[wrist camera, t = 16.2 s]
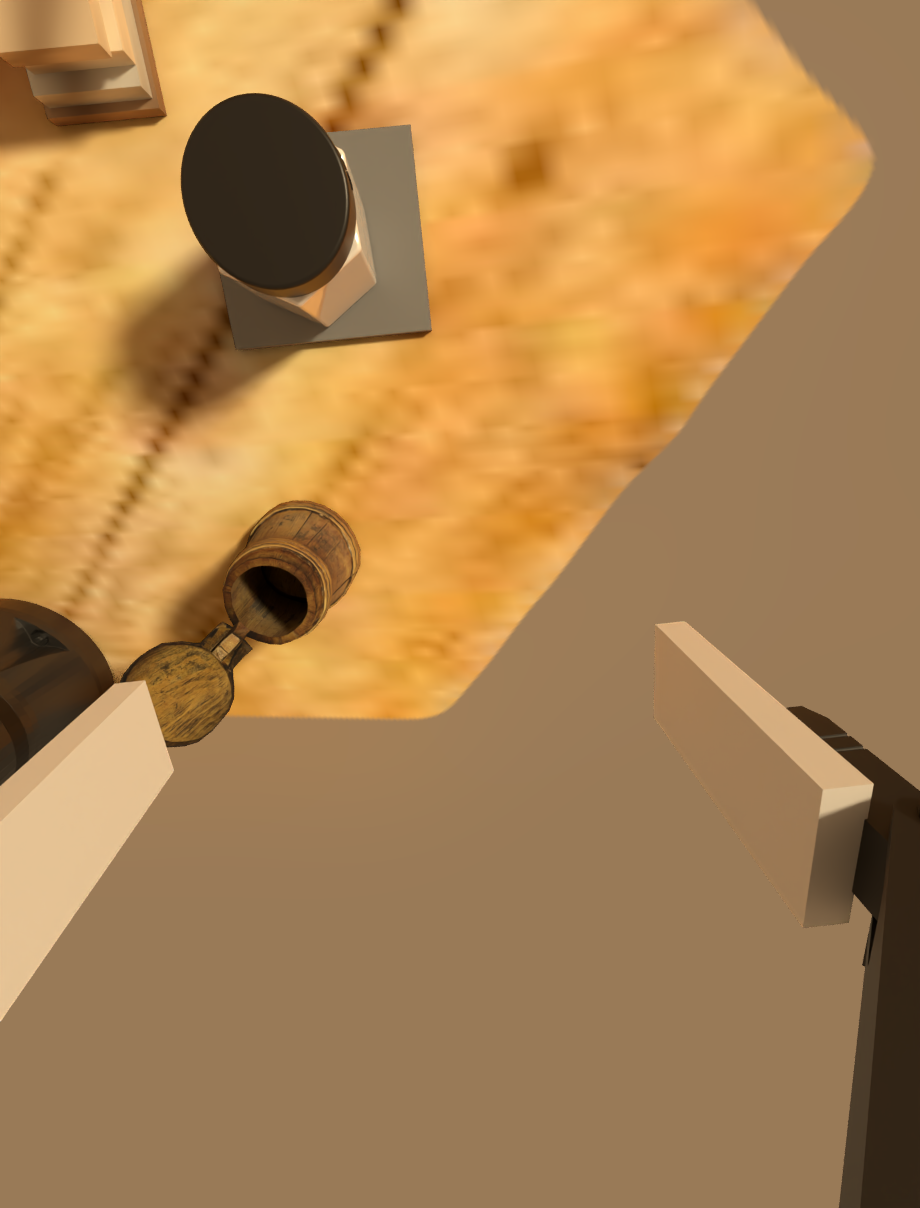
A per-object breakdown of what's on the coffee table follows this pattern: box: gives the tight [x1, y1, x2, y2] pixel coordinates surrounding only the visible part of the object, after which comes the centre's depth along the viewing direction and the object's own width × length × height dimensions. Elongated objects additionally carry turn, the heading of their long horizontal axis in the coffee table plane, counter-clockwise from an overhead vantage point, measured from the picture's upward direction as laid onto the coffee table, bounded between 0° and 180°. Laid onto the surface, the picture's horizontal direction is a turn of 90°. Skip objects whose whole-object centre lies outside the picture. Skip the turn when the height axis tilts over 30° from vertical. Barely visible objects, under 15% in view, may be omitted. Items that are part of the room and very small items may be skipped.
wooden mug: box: [120, 501, 360, 747], centre depth 39 cm, size 9×14×18 cm, turn 132°
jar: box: [181, 93, 376, 327], centre depth 33 cm, size 9×8×12 cm
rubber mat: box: [219, 125, 432, 350], centre depth 39 cm, size 14×12×1 cm
